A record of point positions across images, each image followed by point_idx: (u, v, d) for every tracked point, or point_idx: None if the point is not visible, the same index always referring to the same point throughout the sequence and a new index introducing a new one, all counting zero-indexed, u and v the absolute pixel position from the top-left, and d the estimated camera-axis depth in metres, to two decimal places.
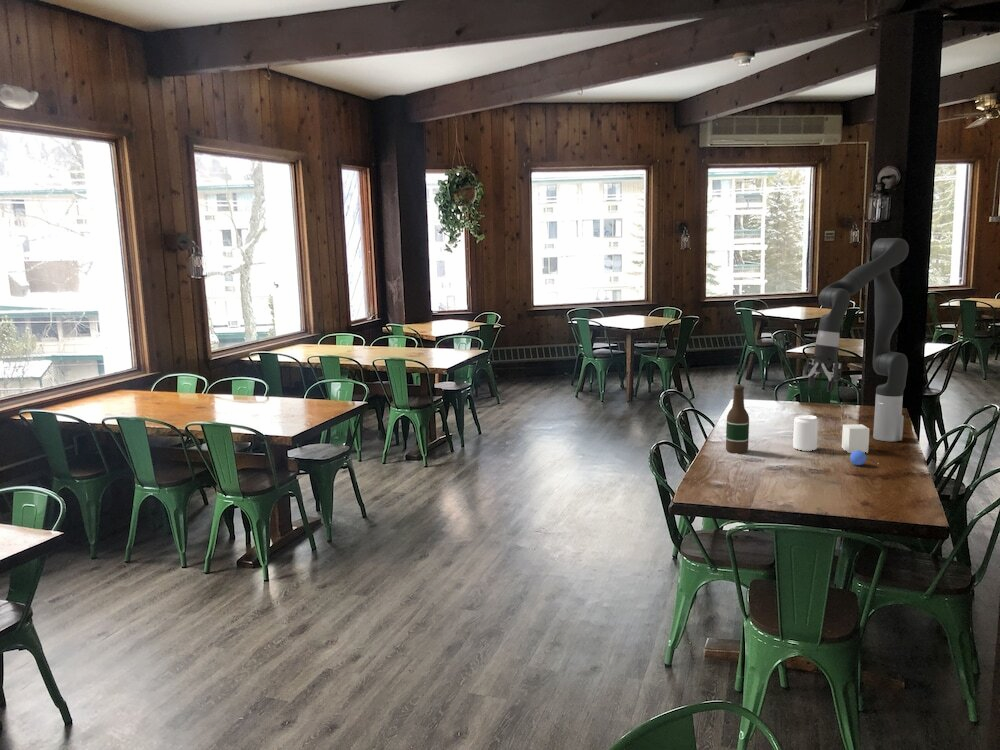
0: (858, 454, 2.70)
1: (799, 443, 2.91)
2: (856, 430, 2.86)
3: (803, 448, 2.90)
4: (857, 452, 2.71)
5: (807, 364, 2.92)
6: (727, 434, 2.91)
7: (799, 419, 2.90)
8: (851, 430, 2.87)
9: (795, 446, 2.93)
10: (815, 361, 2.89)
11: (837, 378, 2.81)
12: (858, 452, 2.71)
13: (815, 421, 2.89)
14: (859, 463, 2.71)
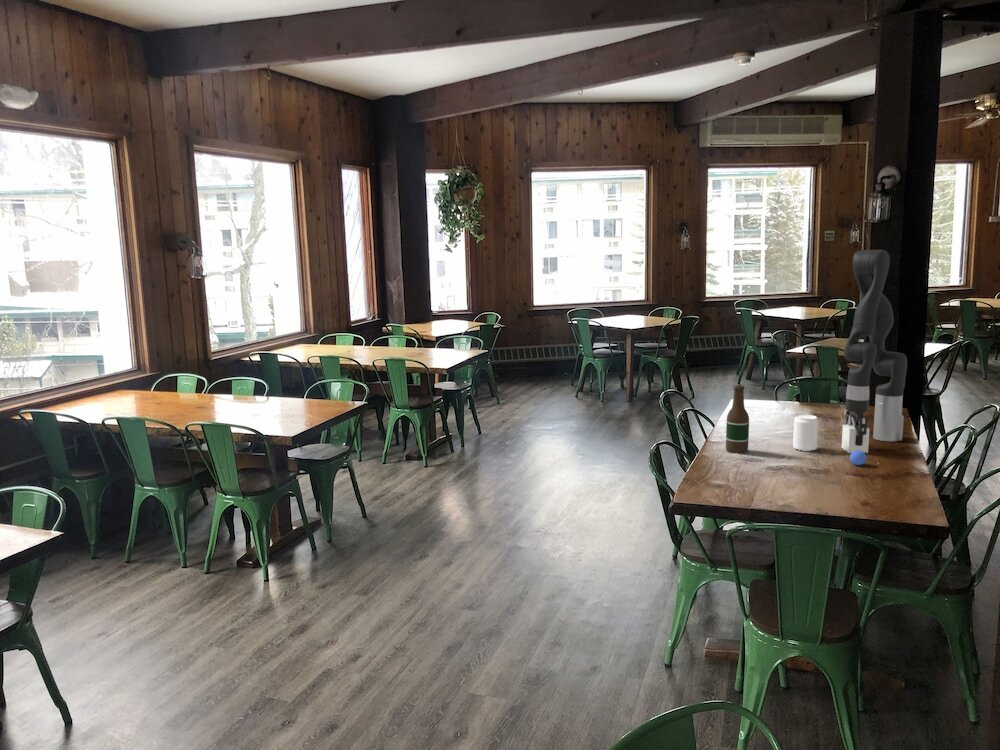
0: (858, 454, 2.70)
1: (799, 443, 2.91)
2: None
3: (803, 448, 2.90)
4: (857, 452, 2.71)
5: (846, 416, 2.95)
6: (727, 434, 2.91)
7: (799, 419, 2.90)
8: (851, 430, 2.87)
9: (795, 446, 2.93)
10: (850, 414, 2.92)
11: (861, 433, 2.83)
12: (858, 452, 2.71)
13: (815, 421, 2.89)
14: (859, 463, 2.71)
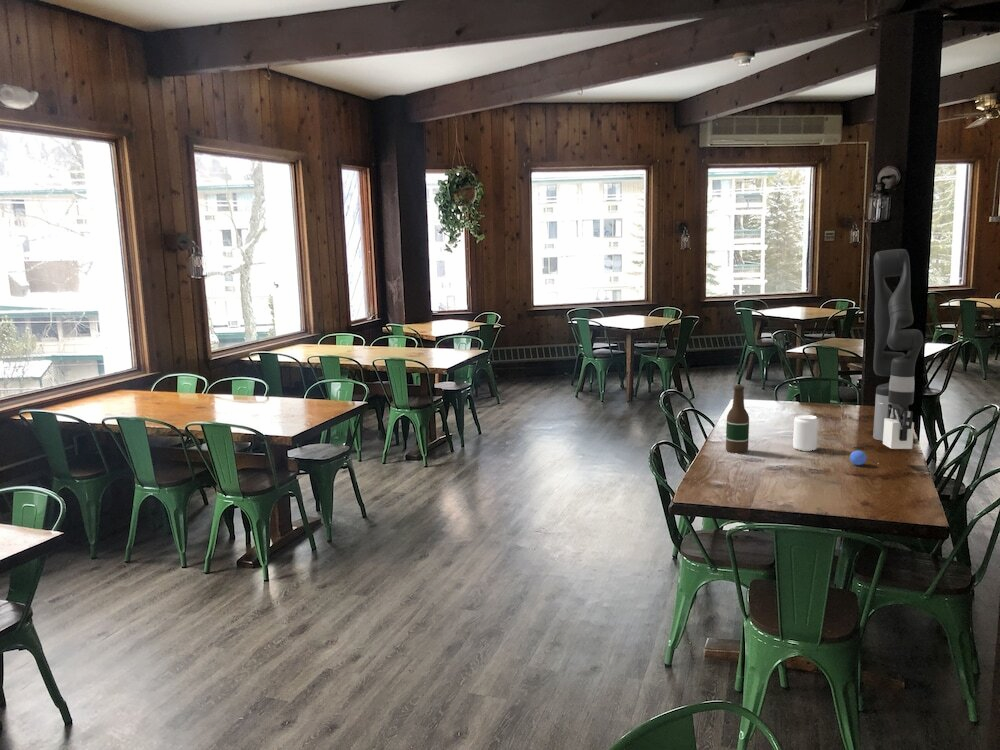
0: (858, 454, 2.70)
1: (799, 443, 2.91)
2: (899, 424, 2.66)
3: (803, 448, 2.90)
4: (857, 452, 2.71)
5: (888, 410, 2.75)
6: (727, 434, 2.91)
7: (799, 419, 2.90)
8: (894, 424, 2.66)
9: (795, 446, 2.93)
10: (892, 407, 2.72)
11: (906, 427, 2.63)
12: (858, 452, 2.71)
13: (815, 421, 2.89)
14: (859, 463, 2.71)
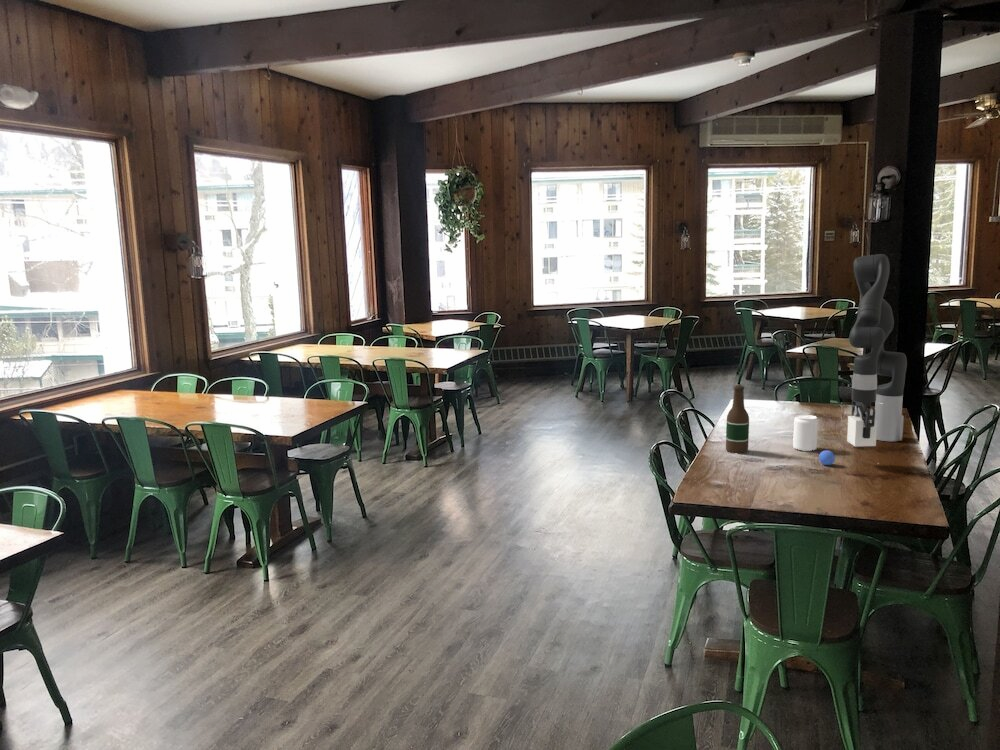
0: (833, 460, 2.71)
1: (799, 443, 2.91)
2: None
3: (803, 448, 2.90)
4: None
5: (852, 407, 2.76)
6: (727, 434, 2.91)
7: (799, 419, 2.90)
8: (857, 422, 2.67)
9: (795, 446, 2.93)
10: (856, 404, 2.72)
11: (869, 425, 2.64)
12: (833, 461, 2.72)
13: (815, 421, 2.89)
14: (826, 456, 2.71)
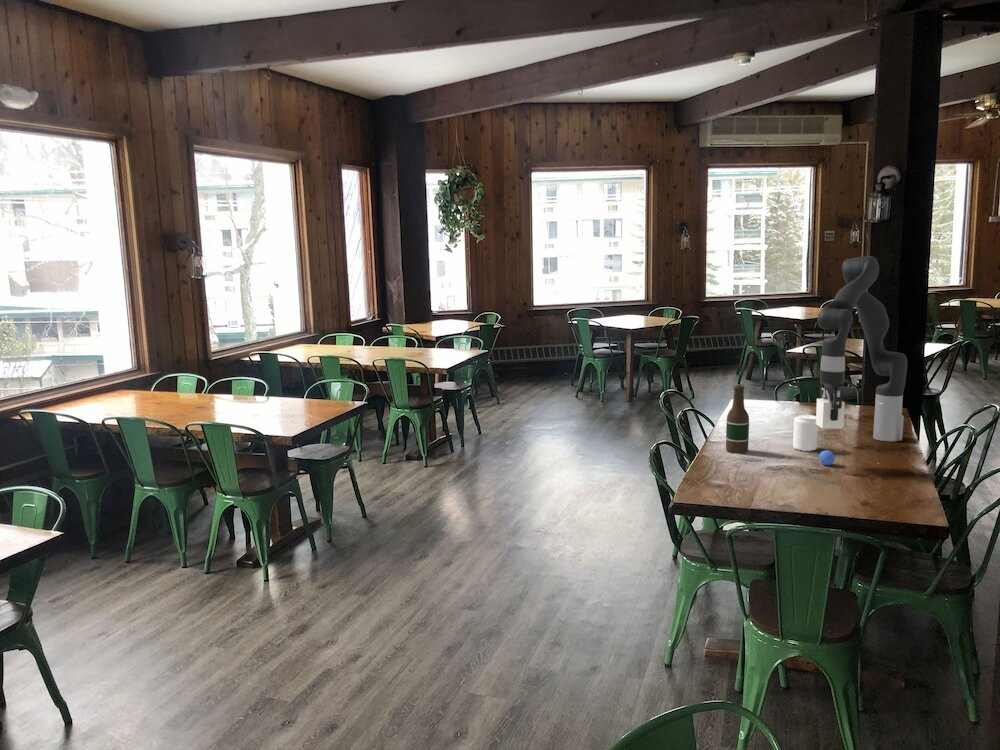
0: (833, 460, 2.71)
1: (799, 443, 2.91)
2: (830, 404, 2.66)
3: (803, 448, 2.90)
4: None
5: (821, 390, 2.75)
6: (727, 434, 2.91)
7: (799, 419, 2.90)
8: (825, 404, 2.67)
9: (795, 446, 2.93)
10: (825, 387, 2.72)
11: (836, 407, 2.63)
12: (833, 461, 2.72)
13: (815, 421, 2.89)
14: (826, 456, 2.71)
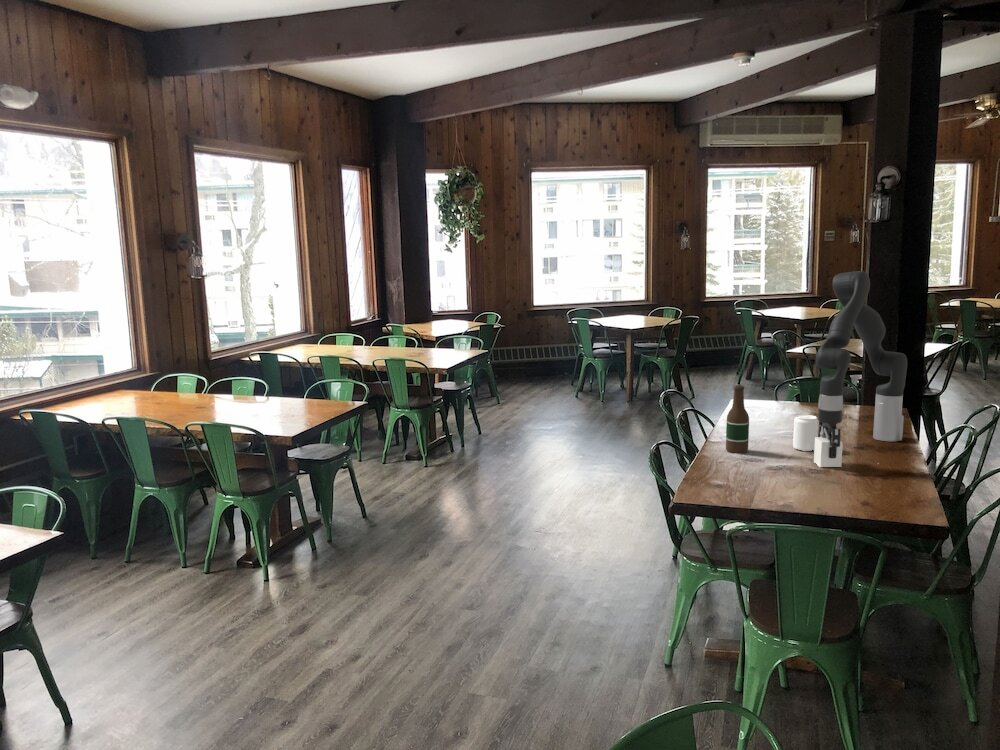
0: None
1: (799, 443, 2.91)
2: (828, 443, 2.69)
3: (803, 448, 2.90)
4: None
5: (819, 426, 2.78)
6: (727, 434, 2.91)
7: (799, 419, 2.90)
8: (823, 443, 2.69)
9: (795, 446, 2.93)
10: (823, 424, 2.74)
11: (835, 445, 2.65)
12: None
13: (815, 421, 2.89)
14: None
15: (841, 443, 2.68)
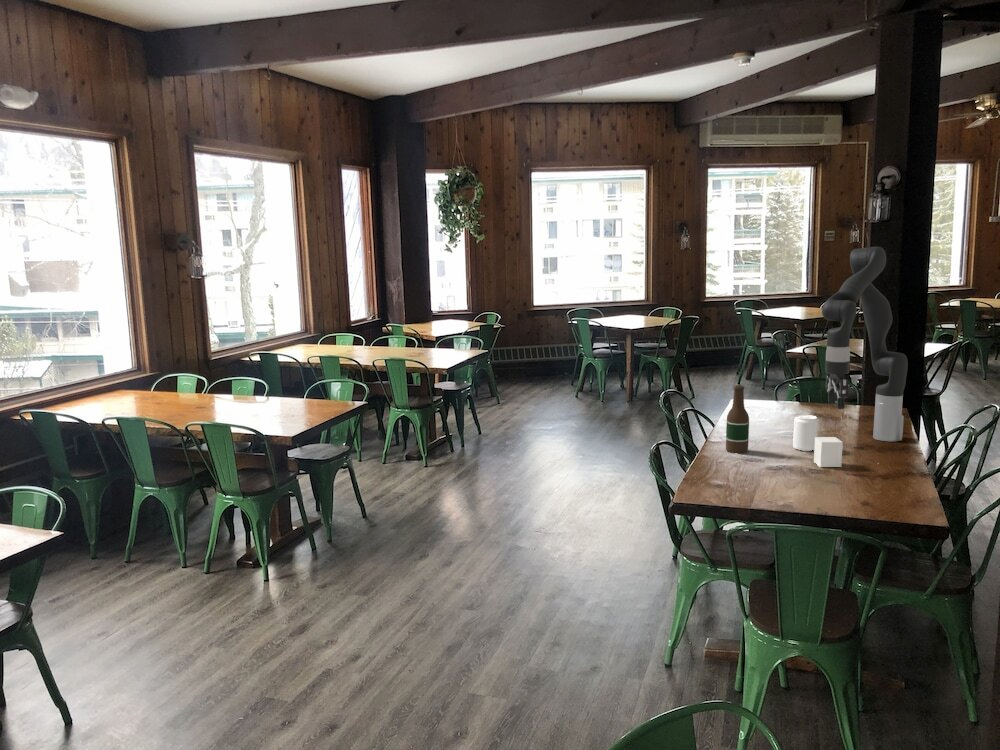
0: None
1: (799, 443, 2.91)
2: (828, 443, 2.69)
3: (803, 448, 2.90)
4: None
5: (826, 379, 2.81)
6: (727, 434, 2.91)
7: (799, 419, 2.90)
8: (823, 443, 2.69)
9: (795, 446, 2.93)
10: (830, 376, 2.78)
11: (843, 395, 2.69)
12: None
13: (815, 421, 2.89)
14: None
15: (841, 443, 2.68)
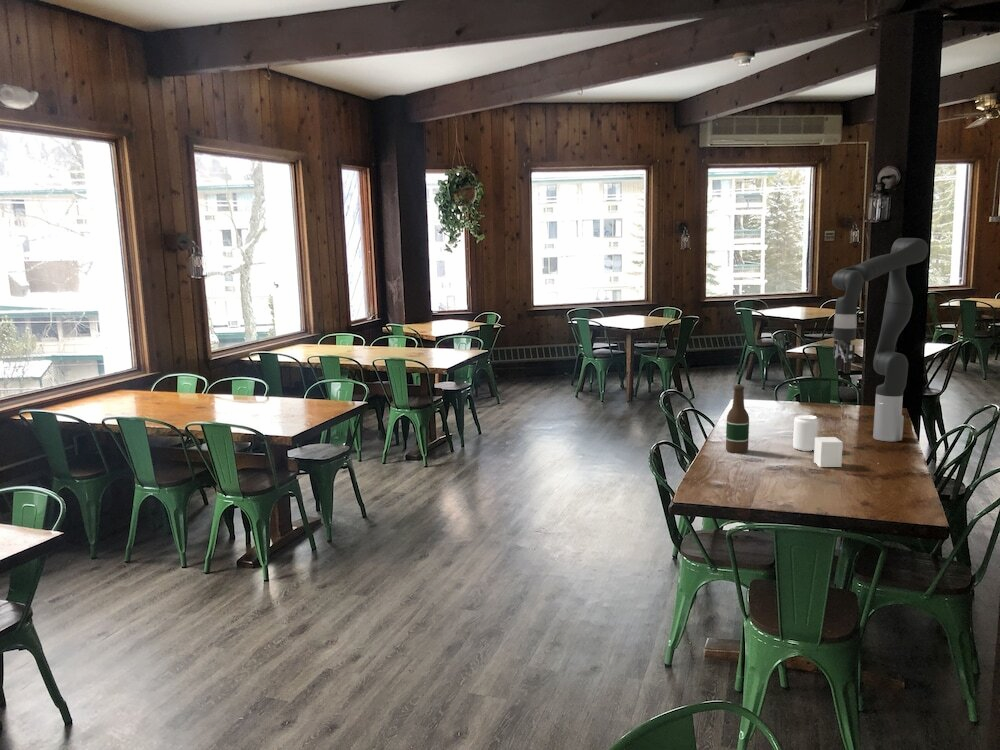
0: None
1: (799, 443, 2.91)
2: (828, 443, 2.69)
3: (803, 448, 2.90)
4: None
5: (834, 346, 2.96)
6: (727, 434, 2.91)
7: (799, 419, 2.90)
8: (823, 443, 2.69)
9: (795, 446, 2.93)
10: (838, 343, 2.93)
11: (849, 360, 2.84)
12: None
13: (815, 421, 2.89)
14: None
15: (841, 443, 2.68)
